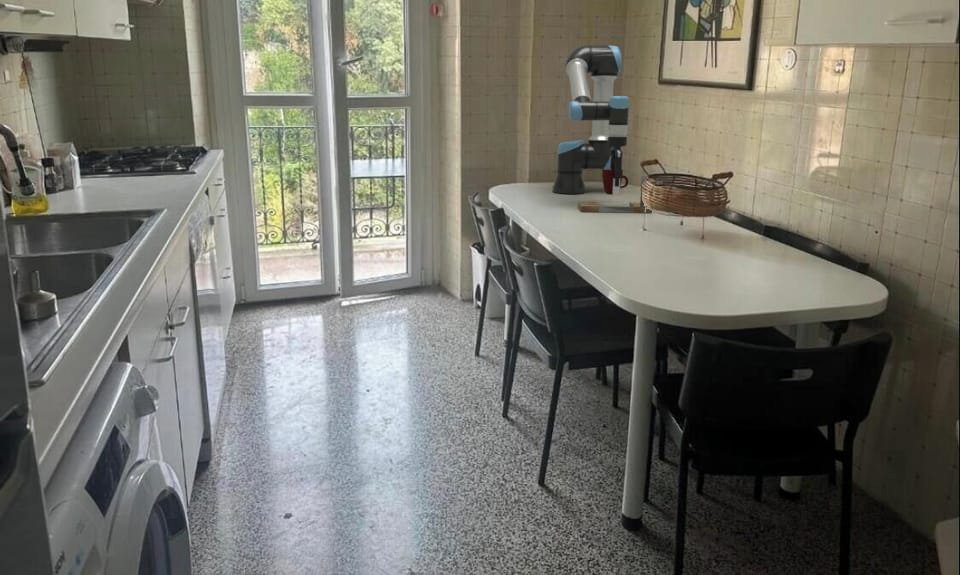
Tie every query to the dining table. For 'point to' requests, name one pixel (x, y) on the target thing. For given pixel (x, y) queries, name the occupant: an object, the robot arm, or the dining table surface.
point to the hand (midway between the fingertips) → (614, 193)
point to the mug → (611, 180)
